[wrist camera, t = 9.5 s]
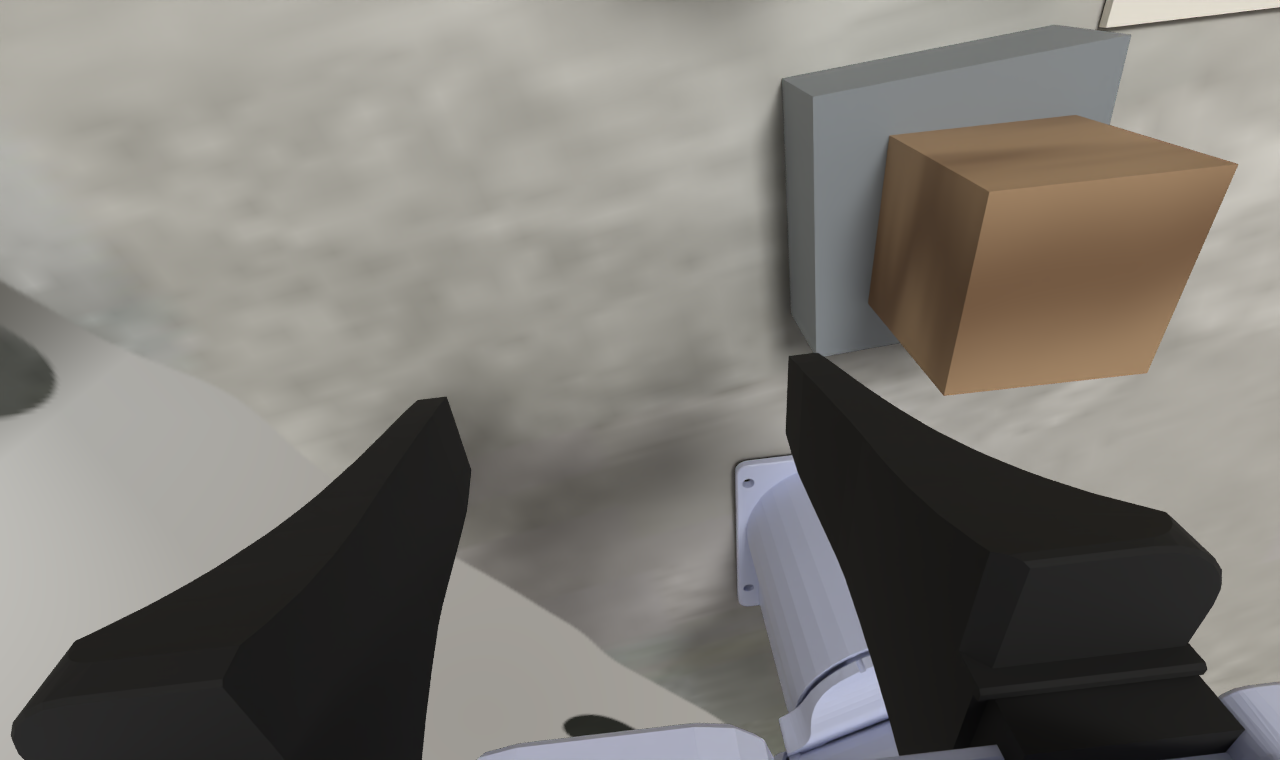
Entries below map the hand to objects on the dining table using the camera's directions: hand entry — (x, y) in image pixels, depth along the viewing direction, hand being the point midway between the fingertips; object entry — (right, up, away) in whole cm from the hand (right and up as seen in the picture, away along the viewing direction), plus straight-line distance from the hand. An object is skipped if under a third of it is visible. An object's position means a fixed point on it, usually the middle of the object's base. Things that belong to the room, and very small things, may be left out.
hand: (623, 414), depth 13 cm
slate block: (+9, +7, +8) cm, 14 cm away
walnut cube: (+10, +5, +5) cm, 12 cm away
